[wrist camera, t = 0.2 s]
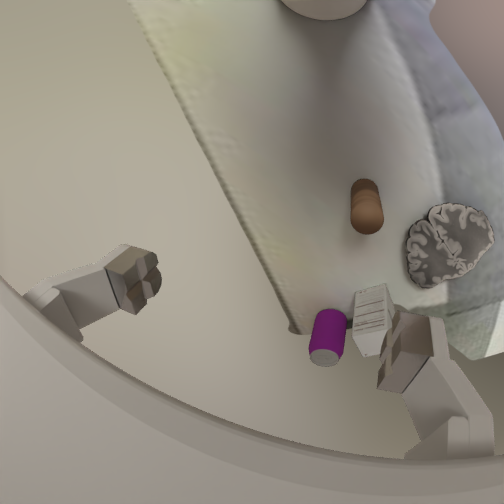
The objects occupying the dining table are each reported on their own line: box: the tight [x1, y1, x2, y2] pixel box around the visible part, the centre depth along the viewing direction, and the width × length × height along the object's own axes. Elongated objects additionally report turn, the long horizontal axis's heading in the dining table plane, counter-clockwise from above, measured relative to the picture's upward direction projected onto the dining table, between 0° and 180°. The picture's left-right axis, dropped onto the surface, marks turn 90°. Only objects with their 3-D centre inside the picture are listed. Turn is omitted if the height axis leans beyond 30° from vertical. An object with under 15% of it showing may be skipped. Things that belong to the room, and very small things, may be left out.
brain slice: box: [406, 203, 494, 288], centre depth 41 cm, size 20×17×3 cm
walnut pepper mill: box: [351, 179, 384, 234], centre depth 40 cm, size 5×5×10 cm
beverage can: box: [309, 309, 347, 367], centre depth 58 cm, size 8×8×12 cm
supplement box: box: [352, 284, 395, 357], centre depth 51 cm, size 7×7×13 cm
